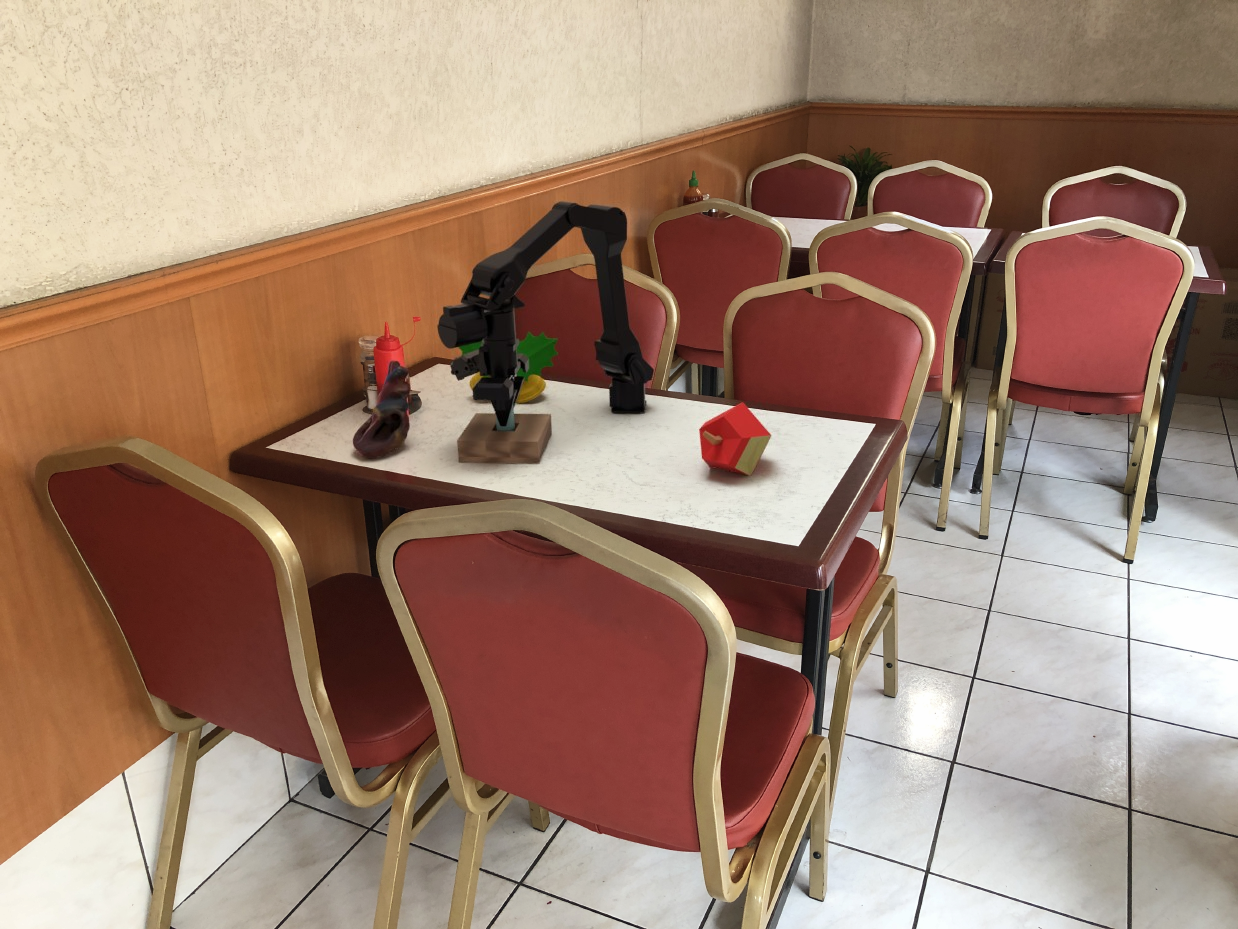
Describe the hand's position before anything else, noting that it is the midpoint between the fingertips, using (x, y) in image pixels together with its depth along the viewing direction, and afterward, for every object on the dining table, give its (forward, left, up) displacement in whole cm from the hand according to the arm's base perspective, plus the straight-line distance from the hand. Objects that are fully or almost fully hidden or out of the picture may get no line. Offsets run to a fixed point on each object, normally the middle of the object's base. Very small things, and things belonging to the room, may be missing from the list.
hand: (505, 422), depth 171 cm
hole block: (0, 0, -5) cm, 5 cm away
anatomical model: (+22, +1, -5) cm, 23 cm away
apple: (-40, +8, -5) cm, 41 cm away
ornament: (+4, -27, -5) cm, 28 cm away
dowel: (0, 0, -2) cm, 2 cm away
